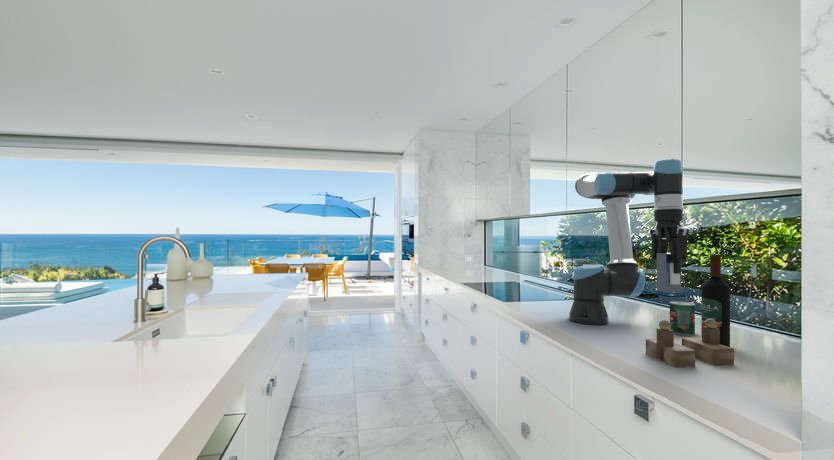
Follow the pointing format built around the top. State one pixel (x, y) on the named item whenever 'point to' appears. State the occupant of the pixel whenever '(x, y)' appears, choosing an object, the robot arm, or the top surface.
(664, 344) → the pair of knobbed blocks
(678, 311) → the canned tomato
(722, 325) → the wine bottle
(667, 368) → the top surface
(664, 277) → the grey brushed pillar
